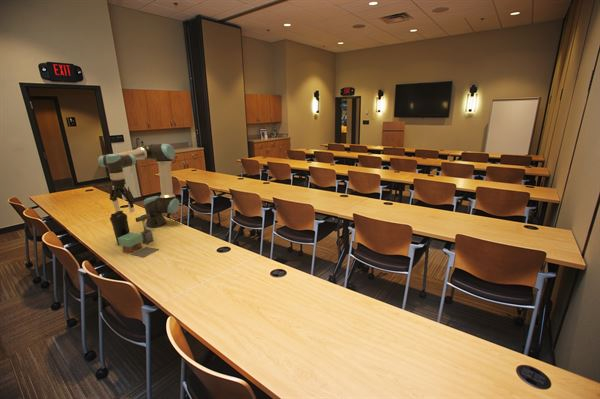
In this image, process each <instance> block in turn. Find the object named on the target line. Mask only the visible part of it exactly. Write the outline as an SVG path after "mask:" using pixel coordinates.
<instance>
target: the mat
mask: <svg viewBox="0 0 600 399" xmlns="http://www.w3.org/2000/svg"><path fill="white" fill-rule="evenodd" d="M159 250H160V249H159V248H155V247H149V246H144V247H142V248H141V249H139V250H137V251H135V252H133V253H129V255H130V256H132V257H134V256H135V257H139V258H147V256H149V255H151V254H153V253H156V252H157V251H159Z"/></svg>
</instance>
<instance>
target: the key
mask: <svg viewBox="0 0 600 399" xmlns="http://www.w3.org/2000/svg"><path fill="white" fill-rule="evenodd" d="M149 218H150V215H149V214H147V215H146V214H145V215H141V216H138V217H135V218H134V220H135V222H136V223H139V222H141V224H142V227H143V231H144V232H146V231H150V232H152V233H153V232H154V231H155V229H154V228H149V227H146V220H147V219H149Z"/></svg>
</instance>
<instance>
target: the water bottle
mask: <svg viewBox="0 0 600 399" xmlns="http://www.w3.org/2000/svg"><path fill="white" fill-rule="evenodd" d="M110 214H111V215H110V218H109V221H110V222H111V226H112V229H113V232H114V236H115V240H116V243H117V246H120V245H119V242H118V238H119V237H121V236H124V235H126V234H128V233H131V232H130V227H129V221H128V215H127V214H126V213H124V210H118V211H115V212H114V213H110Z"/></svg>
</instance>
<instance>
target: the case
mask: <svg viewBox="0 0 600 399" xmlns="http://www.w3.org/2000/svg"><path fill="white" fill-rule="evenodd" d="M121 246H122V245H121ZM121 248H122V252H124V253H128V254H132V253H134V252H136V251H138V250H140V249H142V248H143V243H142V242H140V243H138V244H136V245H133V246H131V247H127V246H122V247H121Z"/></svg>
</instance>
